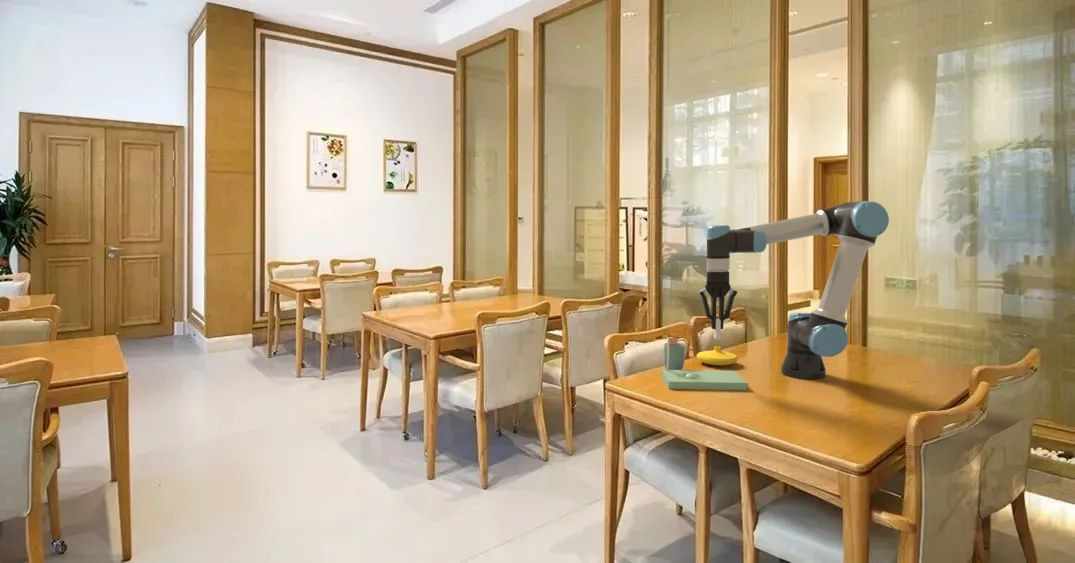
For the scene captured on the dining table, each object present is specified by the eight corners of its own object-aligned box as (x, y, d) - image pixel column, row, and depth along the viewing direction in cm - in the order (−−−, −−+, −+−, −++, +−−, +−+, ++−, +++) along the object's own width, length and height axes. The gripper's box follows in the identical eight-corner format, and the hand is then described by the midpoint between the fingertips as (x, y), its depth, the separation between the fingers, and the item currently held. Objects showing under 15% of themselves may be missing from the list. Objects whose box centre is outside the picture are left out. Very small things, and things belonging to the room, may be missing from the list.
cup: (684, 373, 223) (685, 347, 221) (663, 372, 224) (664, 346, 223) (684, 368, 230) (684, 342, 229) (663, 367, 232) (664, 342, 231)
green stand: (734, 377, 217) (735, 338, 216) (746, 390, 201) (748, 347, 200) (661, 376, 218) (662, 337, 217) (668, 388, 203) (669, 346, 201)
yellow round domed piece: (743, 369, 230) (744, 351, 229) (702, 368, 230) (702, 350, 230) (730, 359, 246) (731, 342, 245) (692, 359, 246) (692, 342, 245)
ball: (689, 370, 211) (682, 376, 212) (691, 373, 208) (683, 378, 208) (695, 378, 211) (687, 383, 212) (696, 380, 208) (689, 385, 209)
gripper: (734, 269, 209) (733, 336, 211) (696, 269, 210) (695, 336, 212) (740, 271, 201) (739, 340, 204) (701, 271, 202) (700, 340, 205)
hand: (717, 338), depth 208 cm, fingers closed
